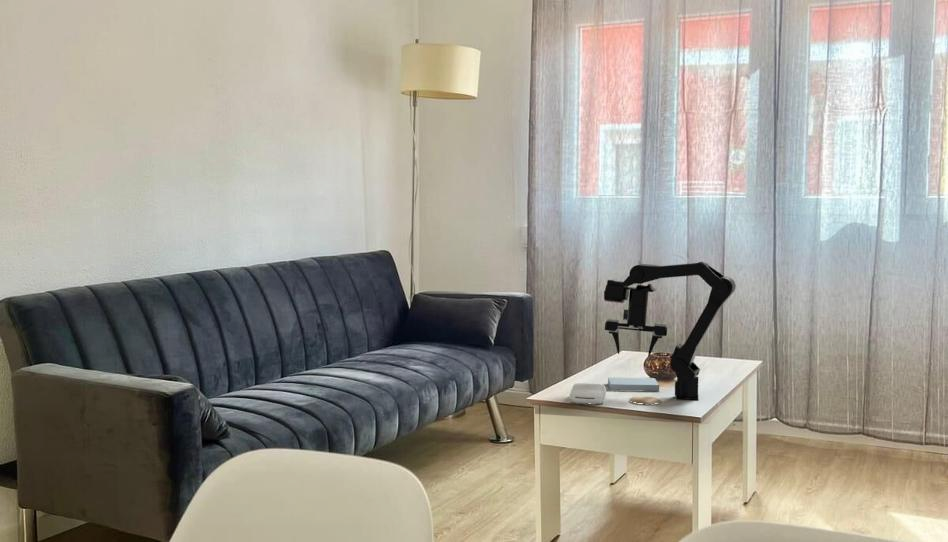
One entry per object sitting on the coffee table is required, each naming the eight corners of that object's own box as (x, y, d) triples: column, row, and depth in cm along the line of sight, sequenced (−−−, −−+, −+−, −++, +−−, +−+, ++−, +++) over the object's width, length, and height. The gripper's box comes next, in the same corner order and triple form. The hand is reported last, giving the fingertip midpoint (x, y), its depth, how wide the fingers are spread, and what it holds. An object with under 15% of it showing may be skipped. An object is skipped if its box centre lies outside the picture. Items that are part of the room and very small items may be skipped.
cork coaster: (661, 399, 276) (661, 397, 276) (660, 405, 267) (660, 403, 267) (631, 397, 278) (631, 395, 278) (628, 404, 269) (628, 402, 269)
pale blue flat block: (654, 384, 298) (654, 378, 298) (659, 391, 287) (659, 385, 287) (607, 383, 299) (608, 377, 299) (610, 390, 288) (610, 384, 288)
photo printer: (606, 383, 278) (604, 391, 266) (606, 397, 278) (603, 406, 266) (572, 381, 280) (568, 390, 268) (572, 395, 280) (568, 404, 268)
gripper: (668, 304, 288) (664, 353, 290) (608, 299, 292) (604, 347, 294) (668, 309, 278) (664, 360, 279) (606, 303, 281) (602, 353, 283)
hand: (633, 355), depth 284 cm, fingers open, 9 cm apart
